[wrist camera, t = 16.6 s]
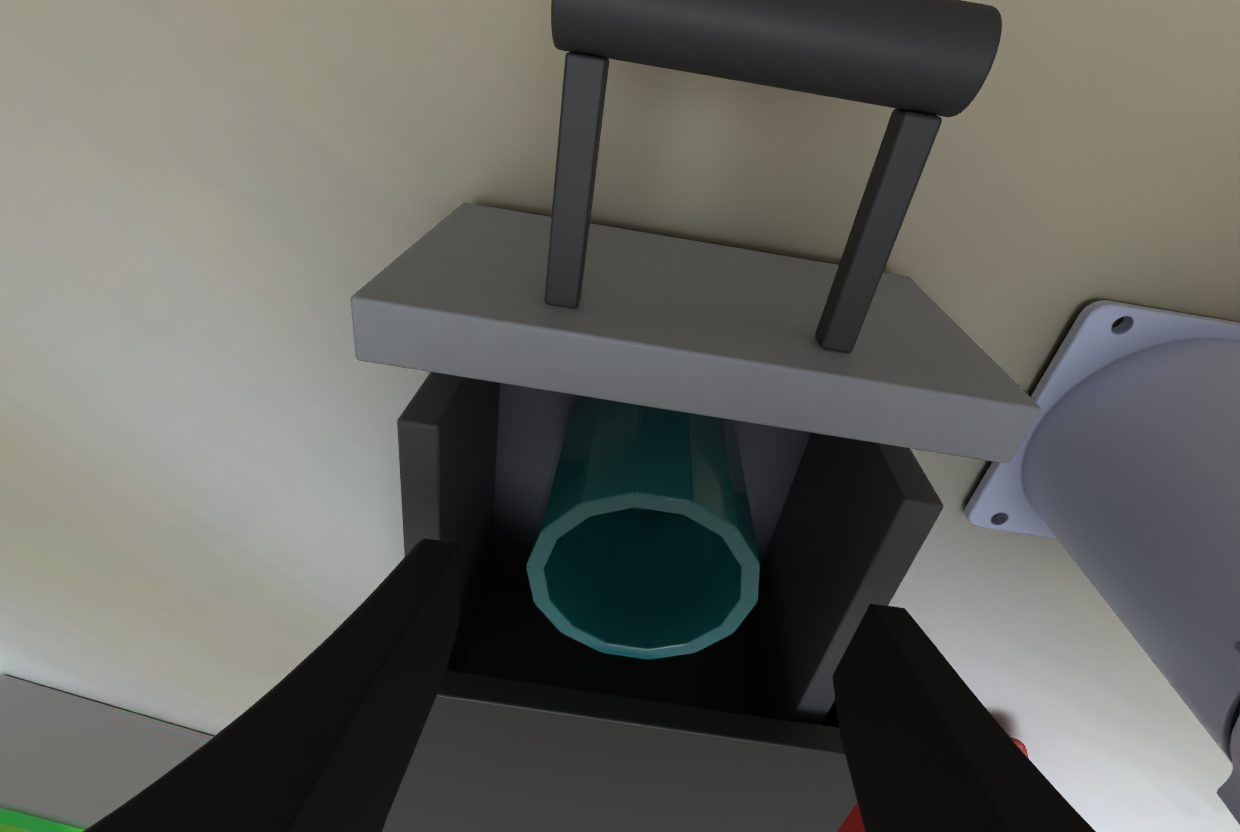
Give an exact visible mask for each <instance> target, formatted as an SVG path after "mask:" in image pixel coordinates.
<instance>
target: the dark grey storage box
mask: <svg viewBox="0 0 1240 832" xmlns="http://www.w3.org/2000/svg"><path fill="white" fill-rule="evenodd" d="M856 803H857V798H856V795H855V791H854V787H853V783H852V779H851V775H850V772H849V768H848V764H847V760H846V756H845V752H844V748H843V744H842V740H841V736H840V729H839V722H838V716H837V709H836V701H834V702H833V704H832V706H831V708H830V709H829V711H828V713H827V715H826V717H825V718H824V720H823V722H822V724H821V725H817V724H810V723H803V722H796V721H789V720H783V719H776V718H769V717H762V716H755V715H749V714H742V713H735V712H728V711H722V710H715V709H708V708H701V707H694V706H688V705H681V704H674V703H667V702H660V701H654V700H647V699H640V698H633V697H626V696H620V695H613V694H606V693H599V692H592V691H586V690H579V689H572V688H565V687H559V686H552V685H545V684H538V683H531V682H525V681H518V680H511V679H504V678H497V677H491V676H484V675H477V674H470V673H463V672H457V671H450V670H446V671H445V674H444V678H443V681H442V683H441V686H440V688H439V691H438V693H437V696H436V698H435V701H434V703H433V706H432V708H431V711H430V713H429V716H428V718H427V721H426V723H425V726H424V728H423V731H422V733H421V735H420V738H419V740H418V743H417V745H416V748H415V750H414V753H413V755H412V758H411V760H410V762H409V765H408V767H407V770H406V772H405V775H404V777H403V780H402V782H401V785H400V787H399V789H398V792H397V794H396V797H395V799H394V802H393V804H392V807H391V809H390V811H389V814H388V817H387V819H386V822H385V825H384V828H383V830H382V832H836V831H837V830H838V829H839V827H840V826H841V824H842V823H843V821H844V820H845V819H846V817H847V816H848V814H849V813H850V811H851V810H852V809H853V807H854V806H855V804H856Z"/></svg>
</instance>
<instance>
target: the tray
mask: <svg viewBox="0 0 1240 832" xmlns="http://www.w3.org/2000/svg"><path fill="white" fill-rule="evenodd" d="M213 737H214V736H210V735H207V734H203V733H200V732H197V731H193V730H190V729H186V728H183V727H180V726H176V725H173V724H169V723H166V722H163V721H159V720H156V719H152V718H149V717H146V716H142V715H139V714H135V713H132V712H129V711H125V710H122V709H118V708H115V707H112V706H108V705H105V704H101V703H98V702H95V701H91V700H88V699H84V698H81V697H78V696H74V695H71V694H67V693H64V692H61V691H57V690H54V689H50V688H47V687H44V686H40V685H37V684H33V683H30V682H27V681H23V680H20V679H17V678H13V677H10V676H6V675H2V676H1V677H0V832H83V831H84V830H86V829H87V828H89V827H90V826H92V825H93V824H95V823H96V822H98V821H99V820H101V819H102V818H104V817H105V816H107V815H108V814H110V813H111V812H113V811H114V810H116V809H117V808H119V807H120V806H121V805H123V804H124V803H126V802H127V801H128V800H130V799H131V798H133V797H134V796H136V795H137V794H138V793H140V792H141V791H142V790H144V789H145V788H147V787H148V786H149V785H151V784H152V783H154V782H155V781H156V780H158V779H159V778H160V777H162V776H163V775H164V774H166V773H167V772H168V771H170V770H171V769H172V768H174V767H175V766H176V765H178V764H179V763H180V762H182V761H183V760H184V759H186V758H187V757H188V756H190V755H191V754H192V753H194V752H195V751H196V750H198V749H199V748H200V747H202V746H203V745H204V744H206V743H207V742H208V741H209V740H211V739H212V738H213Z"/></svg>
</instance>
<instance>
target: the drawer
mask: <svg viewBox="0 0 1240 832" xmlns="http://www.w3.org/2000/svg"><path fill="white" fill-rule="evenodd" d="M551 26H552V37H553V42H554V45H555V47H556V48H557V49H559V50H564V51H570V52H569V53H567V54H566V57H565V69H564V80H563V92H562V103H561V115H560V126H559V138H558V150H557V161H556V173H555V184H554V196H553V207H552V217H548V216H542V215H536V214H530V213H524V212H518V211H512V210H506V209H500V208H494V207H488V206H482V205H476V204H470V203H463V204H462V205H460V206H459V207H458V208H457V209H456V210H454V211H453V212H452V213H451V214H450V215H448V216H447V217H446V218H445V219H444V220H442V221H441V222H440V223H439V224H438V225H436V226H435V227H434V228H433V229H432V230H430V231H429V232H428V233H427V234H426V235H425V236H423V237H422V238H421V239H420V240H419V241H417V242H416V243H415V244H414V245H413V246H411V247H410V248H409V249H408V250H407V251H405V252H404V253H403V254H402V255H401V256H399V257H398V258H397V259H396V260H395V261H393V262H392V263H391V264H390V265H389V266H387V267H386V268H385V269H384V270H383V271H381V272H380V273H379V274H378V275H377V276H375V277H374V278H373V279H372V280H371V281H369V282H368V283H367V284H366V285H365V286H363V287H362V288H361V289H360V290H359V291H357V292H356V293H355V294H354V295H353V296H352V297H351V309H352V319H353V330H354V341H355V352H356V358H357V359H358V360H360V361H366V362H373V363H379V364H385V365H392V366H398V367H404V368H410V369H417V370H423V371H429V372H431V373H430V374H429V375H428V377H427V378H426V380H425V381H424V383H423V384H422V386H421V387H420V388H419V390H418V391H417V393H416V394H415V396H414V397H413V399H412V400H411V401H410V403H409V404H408V406H407V407H406V409H405V410H404V411H403V413H402V414H401V416H400V417H399V419H398V421H397V424H398V442H399V460H400V478H401V496H402V513H403V531H404V549H405V556H406V555H407V554H408V553H409V552H410V551H411V550H412V548H413V547H414V546H415V545H416V544H417V542H419V541H420V540H422V539H424V538H426V539H433V540H439V541H446V542H453V543H459V626H458V629H457V633H456V636H455V640H454V643H453V647H452V651H451V654H450V657H449V661H448V664H447V668H446V670H450V671H457V672H463V673H470V674H477V675H484V676H491V677H497V678H504V679H511V680H518V681H525V682H531V683H538V684H545V685H552V686H559V687H565V688H572V689H579V690H586V691H592V692H599V693H606V694H613V695H620V696H626V697H633V698H640V699H647V700H654V701H660V702H667V703H674V704H681V705H688V706H694V707H701V708H708V709H715V710H722V711H728V712H735V713H742V714H749V715H755V716H762V717H769V718H776V719H783V720H789V721H796V722H803V723H810V724H817V725H821V724H822V722H823V720H824V718H825V717H826V715H827V713H828V711H829V709H830V708H831V706H832V704H833V702H834V701H835V693H834V685H833V677H832V676H833V674H834V672H835V670H836V668H837V666H838V664H839V662H840V660H841V658H842V656H843V654H844V653H845V651H846V649H847V647H848V645H849V643H850V641H851V639H852V637H853V635H854V633H855V632H856V630H857V628H858V626H859V624H860V622H861V620H862V618H863V616H864V614H865V612H866V610H867V609H868V607H869V605H870V604H877V605H884V606H888V605H889V603H890V601H891V599H892V598H893V596H894V594H895V592H896V590H897V589H898V587H899V585H900V583H901V582H902V580H903V578H904V576H905V574H906V573H907V571H908V569H909V567H910V566H911V564H912V562H913V560H914V558H915V557H916V555H917V553H918V551H919V550H920V548H921V546H922V544H923V543H924V541H925V539H926V537H927V535H928V534H929V532H930V530H931V528H932V527H933V525H934V523H935V521H936V519H937V518H938V516H939V514H940V512H941V511H942V509H943V504H942V502H941V500H940V499H939V497H938V495H937V494H936V492H935V490H934V489H933V487H932V485H931V484H930V482H929V480H928V478H927V477H926V475H925V473H924V472H923V470H922V468H921V467H920V465H919V463H918V462H917V460H916V458H915V456H914V455H913V453H912V451H911V450H910V448H912V449H918V450H925V451H931V452H937V453H943V454H950V455H956V456H962V457H969V458H975V459H981V460H987V461H994V462H1000V463H1006V464H1007V463H1010V462H1011V460H1012V459H1013V457H1014V455H1015V454H1016V452H1017V450H1018V449H1019V447H1020V446H1021V444H1022V442H1023V441H1024V439H1025V437H1026V436H1027V434H1028V432H1029V431H1030V429H1031V427H1032V426H1033V424H1034V423H1035V421H1036V419H1037V418H1038V416H1039V414H1040V413H1041V407H1040V406H1039V405H1037V404H1036V403H1035V402H1034V401H1033V400H1032V399H1031V398H1030V397H1029V396H1028V395H1027V394H1026V393H1025V392H1024V391H1023V390H1022V389H1021V388H1020V387H1019V386H1018V385H1017V384H1016V383H1015V382H1014V381H1013V380H1012V379H1011V378H1010V377H1009V376H1008V375H1007V374H1006V373H1005V372H1004V371H1003V370H1002V369H1001V368H1000V367H999V366H998V365H997V364H996V363H995V362H994V361H993V360H992V359H991V358H990V357H989V356H988V355H987V354H986V353H985V352H984V351H983V350H982V349H981V348H980V347H979V346H978V345H977V344H976V343H975V342H974V341H973V340H972V339H971V338H970V337H969V336H968V335H967V334H966V333H965V332H964V331H963V330H962V329H961V328H960V327H959V326H958V325H957V324H956V323H955V322H954V321H953V320H952V319H951V318H950V317H949V316H948V315H947V314H946V313H945V312H944V311H943V310H942V309H941V308H940V307H939V306H938V305H937V304H936V303H935V302H934V301H933V300H932V299H931V298H930V297H929V296H928V295H927V294H926V293H925V292H924V291H923V290H922V289H921V288H920V287H919V286H918V285H917V284H916V283H915V282H914V281H913V280H912V279H911V278H910V277H908V276H902V275H896V274H890V273H884V272H883V271H884V269H885V266H886V263H887V261H888V258H889V256H890V253H891V251H892V248H893V245H894V243H895V240H896V238H897V235H898V233H899V230H900V227H901V225H902V222H903V220H904V217H905V215H906V212H907V209H908V207H909V204H910V202H911V199H912V197H913V194H914V191H915V189H916V186H917V184H918V181H919V179H920V176H921V174H922V171H923V168H924V166H925V163H926V161H927V158H928V156H929V153H930V150H931V148H932V145H933V143H934V140H935V138H936V135H937V132H938V130H939V127H940V125H941V120H942V119H941V118H940V117H939V116H944V117H952V116H955V115H958V114H959V113H961V112H962V111H963V110H964V109H965V108H966V107H967V106H968V105H969V104H970V103H971V102H972V100H973V99H974V98H975V96H976V95H977V93H978V92H979V90H980V89H981V87H982V85H983V83H984V81H985V80H986V77H987V75H988V73H989V71H990V69H991V67H992V64H993V61H994V59H995V56H996V53H997V49H998V46H999V41H1000V37H1001V28H1002V20H1001V15H1000V13H999V11H998V10H997V9H996V8H995V7H993V6H989V5H983V4H978V3H972V2H967V1H961V0H552V5H551ZM608 58H610V59H616V60H621V61H627V62H633V63H639V64H645V65H650V66H656V67H662V68H668V69H673V70H679V71H685V72H691V73H696V74H702V75H708V76H714V77H719V78H725V79H731V80H737V81H742V82H748V83H754V84H760V85H765V86H771V87H777V88H783V89H788V90H794V91H800V92H806V93H812V94H817V95H823V96H829V97H835V98H840V99H846V100H852V101H858V102H863V103H869V104H875V105H881V106H886V107H892V108H897V109H894V110H893V112H892V114H891V117H890V120H889V123H888V126H887V128H886V131H885V134H884V137H883V140H882V143H881V146H880V149H879V151H878V154H877V157H876V160H875V163H874V166H873V169H872V172H871V174H870V177H869V180H868V183H867V186H866V189H865V192H864V195H863V197H862V200H861V203H860V206H859V209H858V212H857V215H856V218H855V220H854V223H853V226H852V229H851V232H850V235H849V238H848V241H847V243H846V246H845V249H844V252H843V255H842V258H841V261H840V264H839V265H836V264H830V263H824V262H818V261H812V260H806V259H800V258H794V257H788V256H782V255H776V254H770V253H764V252H758V251H752V250H746V249H740V248H734V247H728V246H722V245H716V244H710V243H704V242H698V241H692V240H686V239H680V238H674V237H668V236H662V235H656V234H650V233H644V232H638V231H632V230H626V229H620V228H614V227H608V226H602V225H596V224H590V217H591V209H592V201H593V192H594V184H595V176H596V167H597V159H598V151H599V142H600V134H601V126H602V117H603V109H604V101H605V92H606V84H607V76H608V67H609V59H608ZM936 115H938V116H936ZM579 395H580V396H586V397H592V398H599V399H605V400H611V401H617V402H624V403H630V404H636V405H642V406H649V407H655V408H661V409H667V410H674V411H680V412H686V413H693V414H699V415H705V416H711V417H718V418H724V419H730V420H732V424H733V427H734V431H735V433H736V434H737V439H738V444H739V450H740V455H741V461H742V466H743V472H744V478H745V483H746V489H747V494H748V500H749V505H750V511H751V516H752V522H753V528H754V533H755V539H756V544H757V550H758V555H759V561H760V576H759V594H758V601H757V603H756V605H755V606H754V607H753V609H752V610H751V611H750V613H749V614H748V615H747V617H746V618H745V619H744V621H743V622H742V623H741V624H740V626H739V627H738V628H737V630H736V631H735V632H733V634H731V635H729V636H727V637H725V638H724V639H722V640H720V641H718V642H716V643H714V644H712V645H710V646H708V647H706V648H704V649H702V650H700V651H698V652H694V653H693V654H686V655H679V656H672V657H665V658H658V659H651V660H650V659H647V660H646V659H639V658H633V657H626V656H619V655H612V654H606V653H602V652H599V651H597V650H595V649H593V648H591V647H588V646H586V645H584V644H582V643H580V642H578V641H576V640H574V639H572V638H570V637H568V636H566V635H564V634H562V632H560V631H559V630H558V629H557V628H556V627H555V626H554V625H553V624H552V623H551V621H550V620H549V619H548V618H547V617H546V616H545V615H544V614H543V613H542V612H541V610H540V609H539V608H538V607H537V606H536V605H535V603H534V601H533V597H532V593H531V588H530V584H529V579H528V574H527V570H526V563H527V559H528V555H529V552H530V548H531V544H532V540H533V536H534V532H535V529H536V525H537V521H538V517H539V513H540V510H541V506H542V502H543V498H544V494H545V491H546V487H547V483H548V479H549V475H550V471H551V468H552V464H553V460H554V456H555V452H556V449H557V445H558V441H559V438H560V436H561V433H562V431H563V428H564V424H565V420H566V417H567V415H568V412H569V410H570V408H571V406H572V405H573V403H574V402H575V400H576V399H577V398H578V396H579Z"/></svg>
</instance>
